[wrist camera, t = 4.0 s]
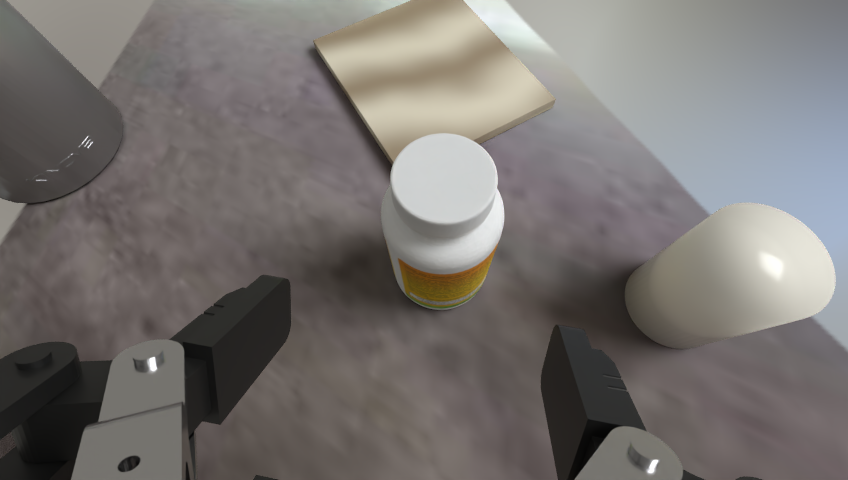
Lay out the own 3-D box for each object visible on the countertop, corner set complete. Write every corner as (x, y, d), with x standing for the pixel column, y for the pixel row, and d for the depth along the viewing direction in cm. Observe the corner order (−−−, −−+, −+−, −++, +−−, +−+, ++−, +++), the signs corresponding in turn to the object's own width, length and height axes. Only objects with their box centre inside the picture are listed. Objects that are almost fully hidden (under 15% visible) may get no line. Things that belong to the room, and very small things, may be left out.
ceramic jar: (608, 309, 22) (678, 265, 16) (650, 245, 24) (730, 182, 17) (693, 369, 21) (808, 348, 14) (732, 297, 22) (853, 249, 16)
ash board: (316, 49, 31) (313, 40, 30) (448, -6, 33) (448, -15, 32) (403, 182, 26) (402, 175, 25) (552, 107, 28) (555, 99, 27)
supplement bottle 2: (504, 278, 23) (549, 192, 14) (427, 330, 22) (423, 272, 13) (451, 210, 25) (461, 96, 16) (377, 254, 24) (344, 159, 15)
